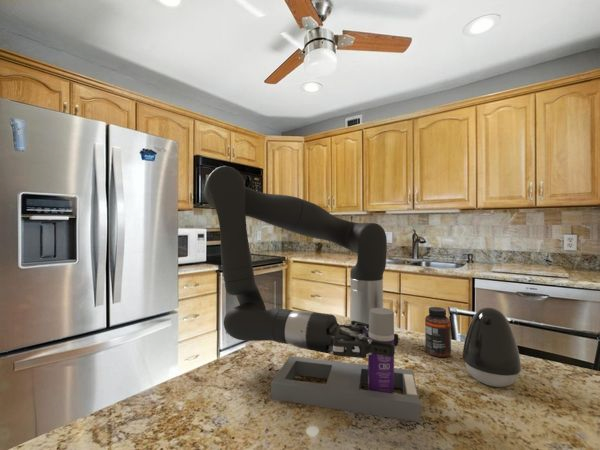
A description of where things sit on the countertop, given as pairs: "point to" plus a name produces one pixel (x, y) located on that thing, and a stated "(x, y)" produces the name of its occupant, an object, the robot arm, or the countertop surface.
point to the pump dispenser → (491, 349)
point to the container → (380, 364)
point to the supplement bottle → (438, 332)
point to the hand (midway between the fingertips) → (395, 344)
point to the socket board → (345, 388)
